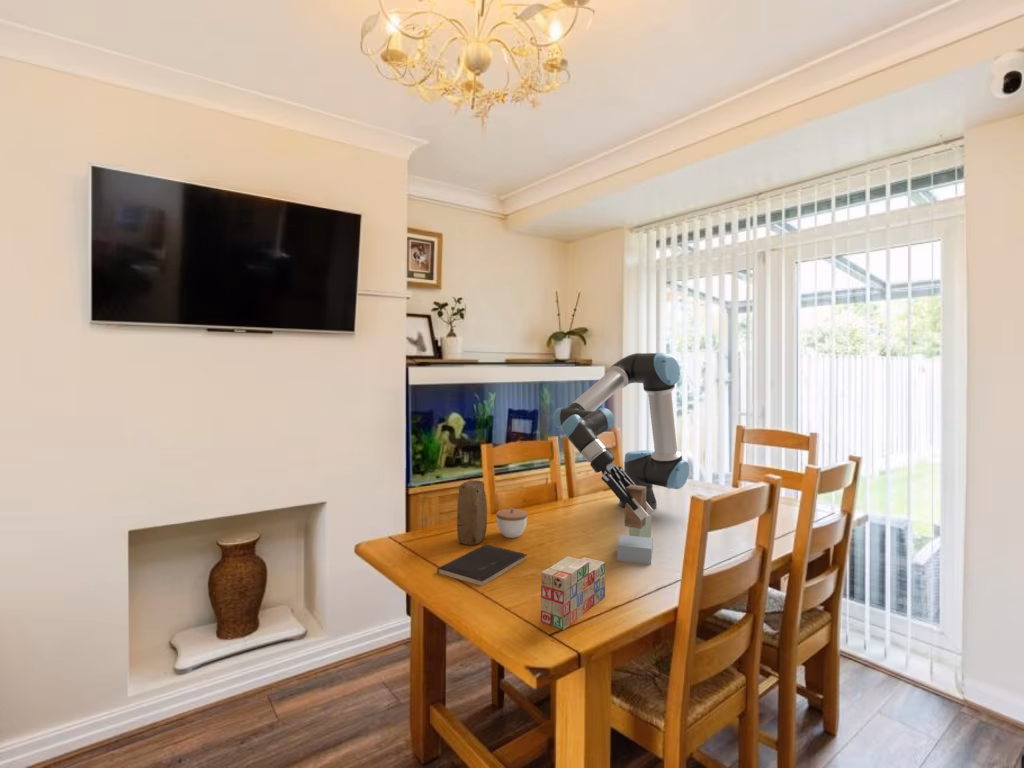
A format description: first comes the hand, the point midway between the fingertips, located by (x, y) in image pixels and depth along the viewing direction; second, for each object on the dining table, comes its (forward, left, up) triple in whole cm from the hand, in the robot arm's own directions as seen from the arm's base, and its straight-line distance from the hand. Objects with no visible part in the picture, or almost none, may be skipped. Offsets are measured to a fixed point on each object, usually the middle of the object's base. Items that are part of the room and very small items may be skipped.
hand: (647, 515), depth 164 cm
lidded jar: (+38, -28, -14) cm, 49 cm away
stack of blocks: (+31, +28, -14) cm, 44 cm away
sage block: (-4, -16, -14) cm, 21 cm away
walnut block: (+3, -2, -4) cm, 5 cm away
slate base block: (+3, -3, -14) cm, 14 cm away
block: (+52, -24, -14) cm, 58 cm away
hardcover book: (+50, -1, -14) cm, 52 cm away
